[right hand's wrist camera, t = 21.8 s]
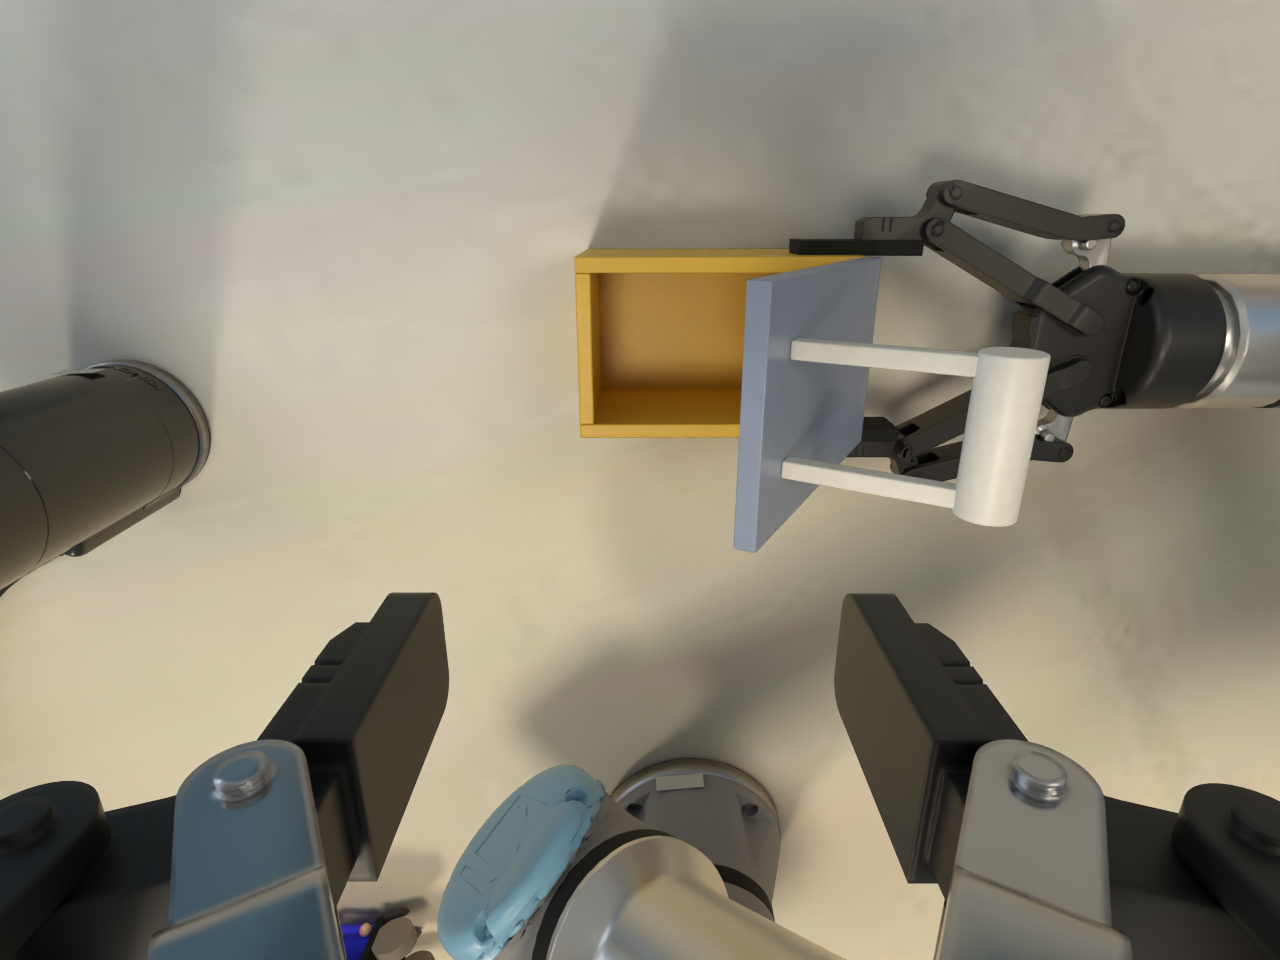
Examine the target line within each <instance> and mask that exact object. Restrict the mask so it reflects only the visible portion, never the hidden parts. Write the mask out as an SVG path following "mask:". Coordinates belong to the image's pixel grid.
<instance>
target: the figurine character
mask: <svg viewBox="0 0 1280 960" xmlns="http://www.w3.org/2000/svg"><path fill="white" fill-rule="evenodd" d="M409 911H410V910H405V909H402V910H399V911H396V912H393V913H390V914H387V915H384V916H381V917H379V918H377V920H376V921H375V922H376V923H375V925H372V926H371V925H370V924H369V923H364V924H346V925H340V926H341V931H342V934H345V935H342V937H343V942H344V947H345V953H346V958H347V960H435V958H434V957H433V955H432V953H431V952H429V951H418V952H415V953H413V954H411V955H409V956H408V957H407V958H406V957H405V956H406V955H407V954H408V953H409V952H410V951H411V950H412V949H413V947H414V946H415V944H416V941H417V938H418V937H419V935H420V934H421V932H422V931H420V930H417V929H415V928H414V926H413V924H412V922H411V921H410V920H409V919H408V918H399V917H402V916H405V915H406V914H407V913H408V912H409ZM396 918H397V919H396ZM393 919H394V920H393ZM390 920H392V921H390ZM387 921H390V922H388V923H387Z"/></svg>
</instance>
